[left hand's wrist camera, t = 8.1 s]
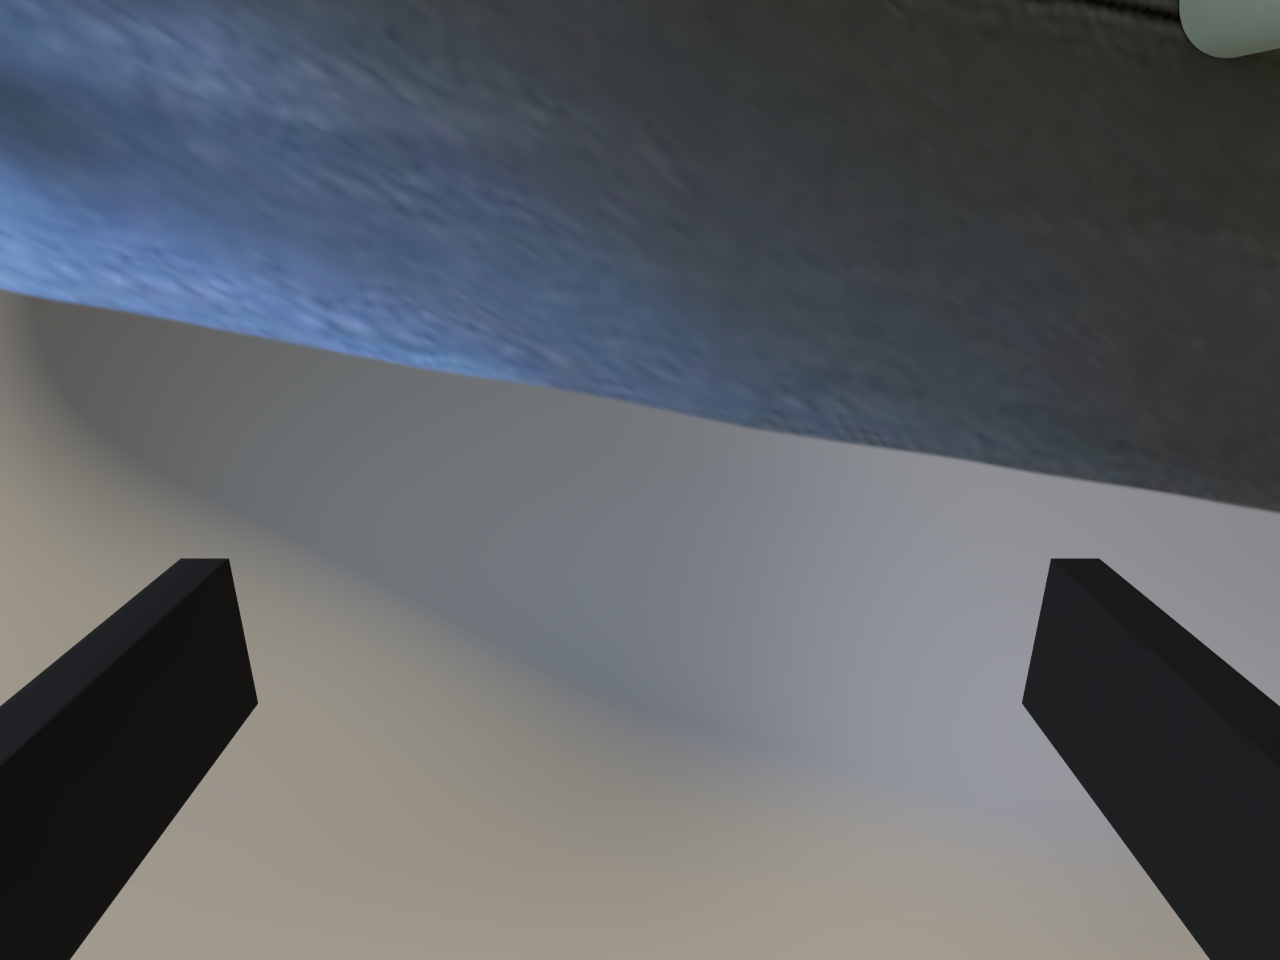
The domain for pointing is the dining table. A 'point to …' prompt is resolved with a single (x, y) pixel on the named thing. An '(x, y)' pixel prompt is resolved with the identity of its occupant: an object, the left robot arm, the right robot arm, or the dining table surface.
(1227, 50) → the jar
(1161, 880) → the left robot arm
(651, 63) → the dining table surface
